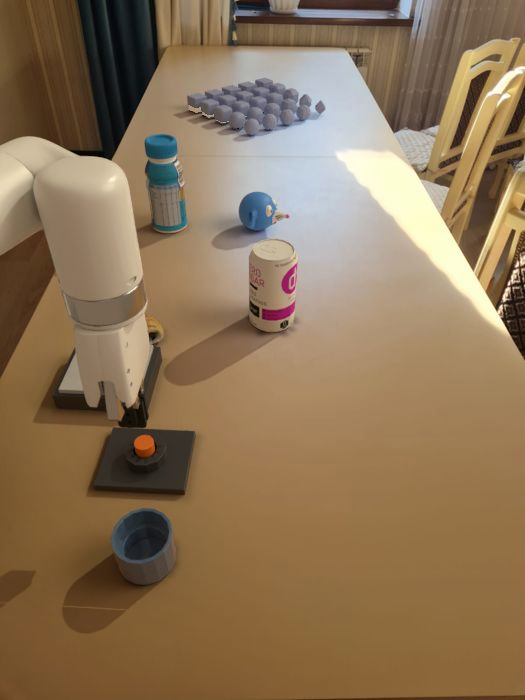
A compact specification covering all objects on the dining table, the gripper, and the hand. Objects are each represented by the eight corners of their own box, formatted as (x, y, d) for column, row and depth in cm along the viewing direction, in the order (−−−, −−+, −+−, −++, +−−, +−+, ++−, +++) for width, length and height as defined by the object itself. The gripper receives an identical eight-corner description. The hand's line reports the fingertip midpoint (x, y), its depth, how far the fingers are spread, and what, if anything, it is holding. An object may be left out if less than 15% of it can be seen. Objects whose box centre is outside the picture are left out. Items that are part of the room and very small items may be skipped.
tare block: (95, 490, 72) (90, 477, 70) (114, 432, 79) (110, 418, 77) (184, 495, 71) (183, 481, 69) (195, 436, 79) (194, 422, 77)
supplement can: (301, 315, 101) (306, 244, 91) (280, 340, 95) (283, 267, 85) (264, 302, 104) (265, 232, 94) (241, 325, 98) (239, 253, 88)
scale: (56, 409, 82) (50, 391, 80) (80, 356, 91) (75, 339, 89) (147, 413, 82) (143, 395, 80) (162, 360, 91) (159, 342, 89)
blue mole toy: (281, 246, 119) (282, 211, 114) (231, 236, 122) (229, 202, 117) (296, 221, 128) (298, 188, 122) (249, 213, 131) (248, 180, 125)
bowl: (112, 585, 62) (103, 561, 59) (126, 531, 67) (119, 506, 64) (171, 588, 62) (166, 565, 58) (180, 534, 67) (176, 509, 63)
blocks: (264, 91, 204) (264, 77, 201) (329, 115, 185) (331, 100, 181) (187, 110, 187) (186, 95, 184) (250, 139, 168) (250, 122, 164)
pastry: (111, 327, 97) (107, 310, 95) (144, 313, 101) (142, 297, 98) (134, 355, 92) (131, 337, 89) (169, 340, 95) (167, 323, 92)
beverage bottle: (164, 238, 121) (153, 150, 108) (144, 224, 126) (132, 137, 113) (195, 227, 125) (188, 140, 112) (175, 213, 130) (166, 129, 117)
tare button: (133, 457, 73) (131, 449, 71) (138, 442, 74) (136, 434, 73) (152, 458, 72) (151, 450, 71) (156, 443, 74) (155, 435, 73)
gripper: (88, 251, 57) (117, 377, 69) (39, 344, 46) (84, 474, 58) (159, 253, 57) (176, 378, 69) (127, 347, 45) (154, 477, 58)
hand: (134, 422), depth 63 cm, fingers closed
